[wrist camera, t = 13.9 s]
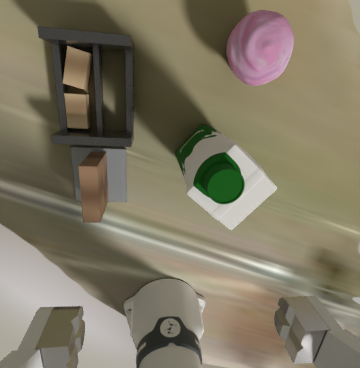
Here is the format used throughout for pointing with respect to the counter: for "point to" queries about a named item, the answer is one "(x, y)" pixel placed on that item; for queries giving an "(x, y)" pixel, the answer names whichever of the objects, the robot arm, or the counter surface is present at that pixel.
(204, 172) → the milk carton
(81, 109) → the oak offcut
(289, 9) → the counter surface
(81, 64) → the oak offcut
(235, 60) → the cupcake
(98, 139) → the rack
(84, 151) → the grey mat
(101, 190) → the brown flat block
